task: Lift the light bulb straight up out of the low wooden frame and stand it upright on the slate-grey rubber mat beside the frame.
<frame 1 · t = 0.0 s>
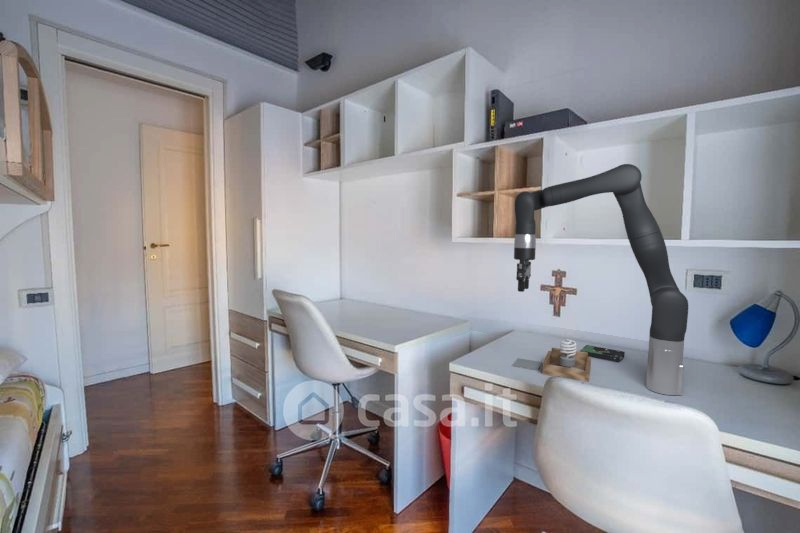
hand: (523, 290, 143), 29 cm above the table, tool pointing down, fingers open, 8 cm apart
light bulb: (567, 371, 141), resting in wooden frame
disk drive: (601, 357, 159), on the table
wooden frame: (567, 371, 141), on the table
slate mat: (527, 364, 148), on the table
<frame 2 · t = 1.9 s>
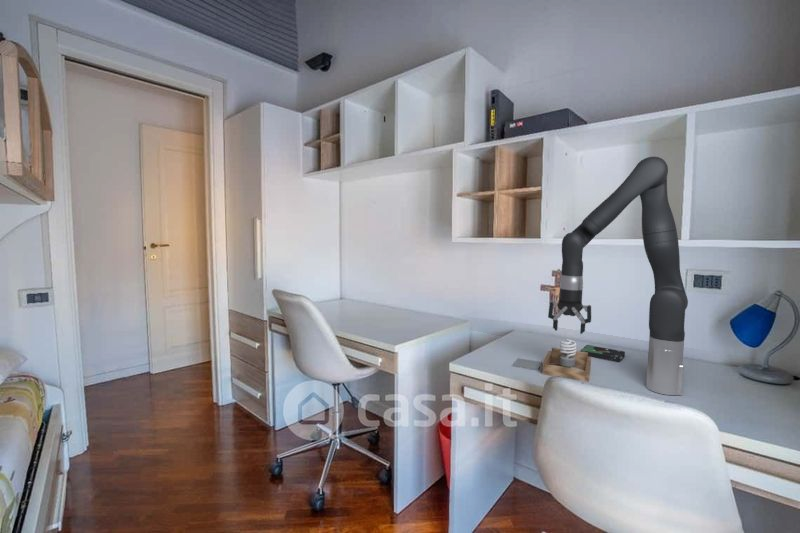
hand: (568, 331, 140), 15 cm above the table, tool pointing down, fingers open, 8 cm apart
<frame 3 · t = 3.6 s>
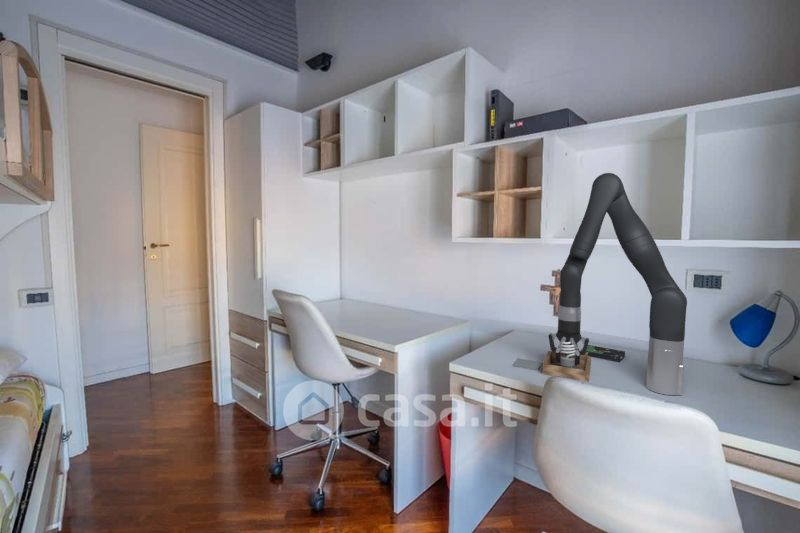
hand: (567, 363, 141), 3 cm above the table, tool pointing down, fingers closed on light bulb, 5 cm apart
light bulb: (567, 371, 141), resting in wooden frame, touching gripper
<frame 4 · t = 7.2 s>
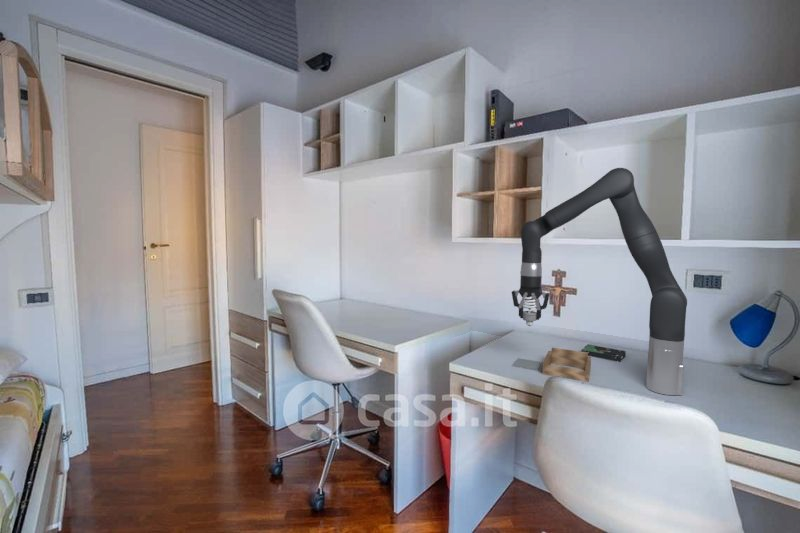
hand: (529, 318, 146), 18 cm above the table, tool pointing down, fingers closed on light bulb, 5 cm apart
light bulb: (529, 326, 146), point 15 cm above the table, touching gripper
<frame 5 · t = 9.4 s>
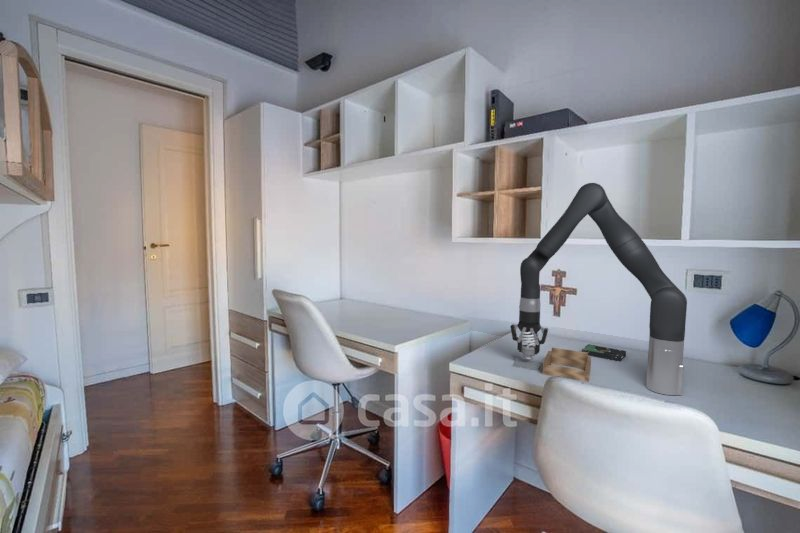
hand: (528, 352, 147), 5 cm above the table, tool pointing down, fingers closed on light bulb, 5 cm apart
light bulb: (527, 360, 147), point 2 cm above the table, touching gripper
when the fingers open (4 cm above the table, at t = 10.4 s): light bulb stays where it is, resting on slate mat.
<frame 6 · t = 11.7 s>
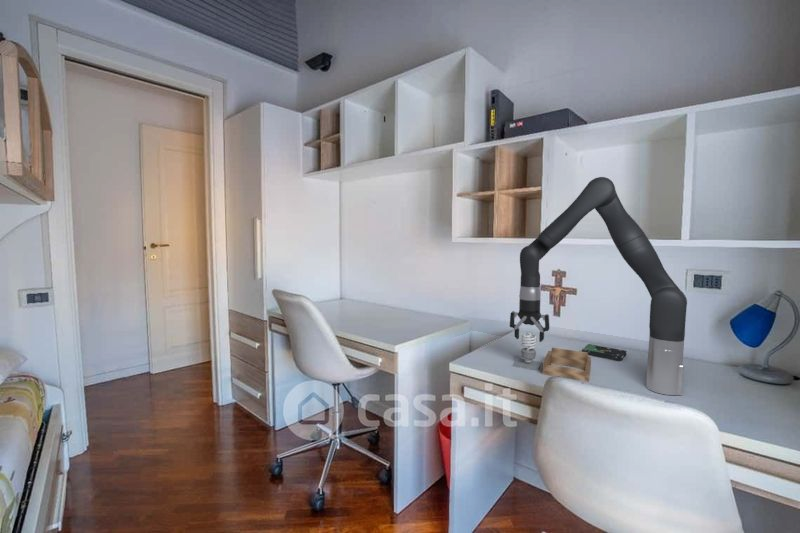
hand: (528, 340, 147), 10 cm above the table, tool pointing down, fingers open, 8 cm apart
light bulb: (528, 363, 148), resting on slate mat
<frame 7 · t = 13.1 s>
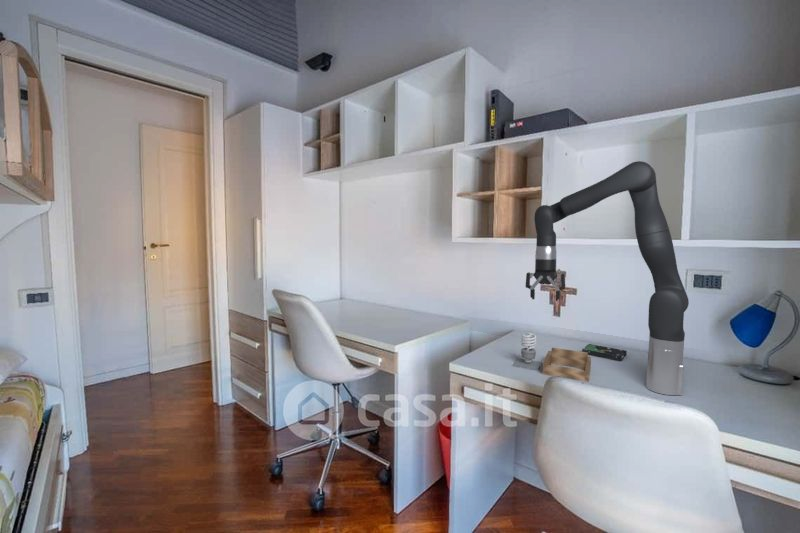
hand: (544, 299, 148), 25 cm above the table, tool pointing down, fingers open, 8 cm apart
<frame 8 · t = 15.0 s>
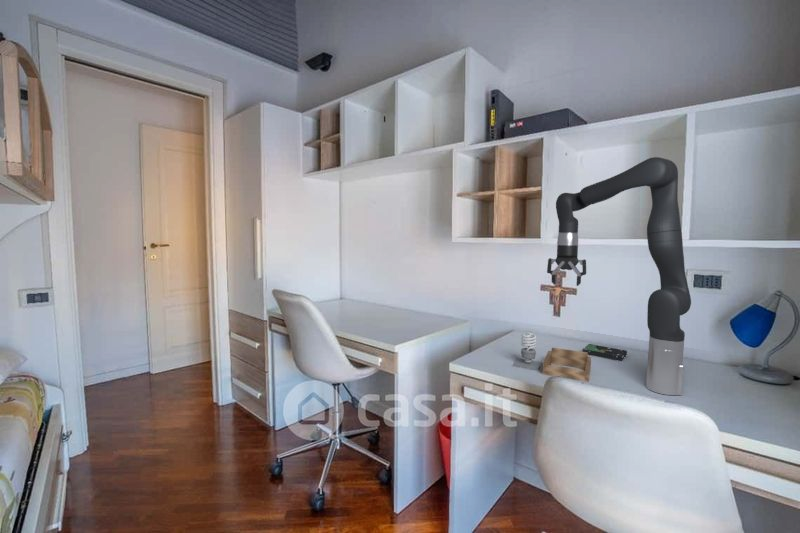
hand: (565, 284, 153), 30 cm above the table, tool pointing down, fingers open, 8 cm apart
at the end: light bulb 0.2 cm off-centre on the slate mat, point 0.4 cm above the slate mat's base; light bulb tilted 0°; the gripper is holding nothing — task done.
